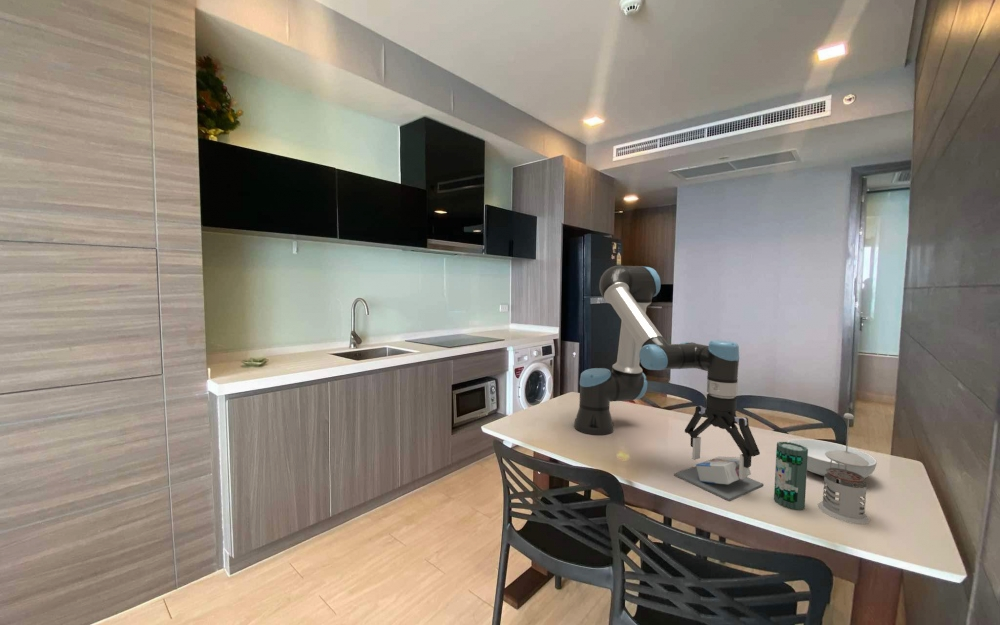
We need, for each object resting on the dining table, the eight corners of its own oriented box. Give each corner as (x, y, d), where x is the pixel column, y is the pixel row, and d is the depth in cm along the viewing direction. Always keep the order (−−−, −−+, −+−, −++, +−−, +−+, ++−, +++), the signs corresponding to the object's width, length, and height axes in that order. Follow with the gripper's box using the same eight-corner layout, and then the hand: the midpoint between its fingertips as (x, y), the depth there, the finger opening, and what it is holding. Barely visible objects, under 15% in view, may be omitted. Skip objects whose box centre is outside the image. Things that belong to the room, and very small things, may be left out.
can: (768, 497, 102) (771, 441, 101) (790, 496, 102) (793, 441, 101) (787, 510, 96) (790, 451, 95) (810, 509, 96) (813, 451, 95)
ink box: (694, 463, 110) (718, 455, 116) (699, 482, 108) (722, 473, 114) (723, 464, 103) (747, 456, 109) (729, 484, 101) (752, 475, 107)
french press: (825, 517, 93) (831, 416, 91) (809, 495, 103) (814, 403, 102) (878, 528, 89) (885, 422, 87) (856, 503, 99) (862, 408, 98)
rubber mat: (674, 475, 113) (674, 473, 113) (708, 463, 122) (708, 461, 122) (729, 501, 99) (729, 499, 99) (763, 485, 108) (763, 483, 108)
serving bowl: (862, 467, 121) (864, 446, 120) (886, 497, 103) (888, 472, 102) (781, 452, 131) (782, 433, 131) (790, 477, 113) (791, 454, 113)
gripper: (674, 386, 118) (671, 454, 119) (762, 408, 97) (758, 490, 98) (689, 384, 122) (686, 449, 123) (777, 404, 100) (773, 483, 101)
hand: (718, 467), depth 110 cm, fingers open, 13 cm apart
